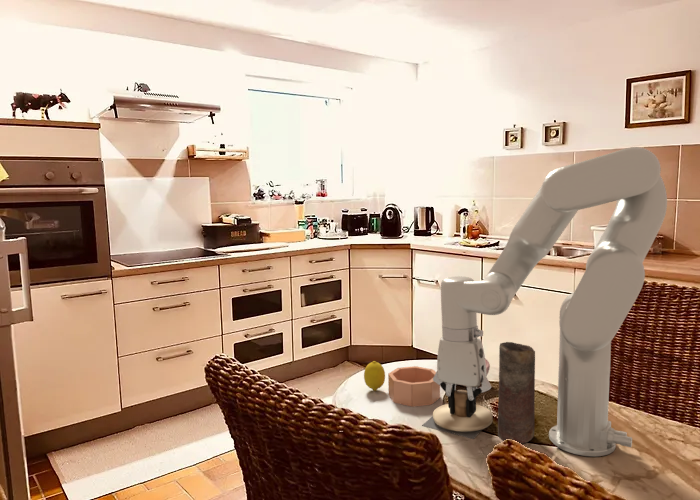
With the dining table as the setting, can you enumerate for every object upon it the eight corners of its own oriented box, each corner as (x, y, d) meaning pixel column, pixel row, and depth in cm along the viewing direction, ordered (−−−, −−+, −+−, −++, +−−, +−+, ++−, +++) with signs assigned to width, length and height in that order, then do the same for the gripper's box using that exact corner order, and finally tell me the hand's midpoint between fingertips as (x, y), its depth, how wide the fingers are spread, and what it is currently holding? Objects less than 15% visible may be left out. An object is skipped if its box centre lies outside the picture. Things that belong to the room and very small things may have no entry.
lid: (500, 413, 121) (499, 387, 120) (480, 436, 110) (479, 408, 109) (447, 402, 128) (446, 378, 127) (423, 424, 117) (422, 397, 117)
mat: (492, 419, 121) (492, 417, 121) (473, 441, 111) (473, 438, 111) (443, 408, 128) (443, 406, 128) (421, 427, 118) (421, 425, 118)
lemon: (385, 386, 142) (385, 357, 141) (384, 394, 137) (384, 364, 136) (365, 386, 143) (364, 357, 142) (363, 394, 137) (362, 364, 136)
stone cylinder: (504, 426, 117) (506, 338, 115) (538, 435, 113) (540, 343, 111) (492, 440, 111) (493, 347, 109) (527, 449, 107) (529, 353, 105)
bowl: (445, 394, 136) (445, 371, 135) (425, 411, 126) (425, 387, 125) (404, 385, 143) (403, 363, 142) (381, 401, 133) (381, 377, 132)
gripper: (502, 332, 115) (504, 414, 117) (432, 325, 124) (435, 401, 126) (490, 341, 109) (492, 427, 111) (418, 333, 118) (421, 412, 120)
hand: (462, 412), depth 119 cm, fingers closed on lid, 3 cm apart
